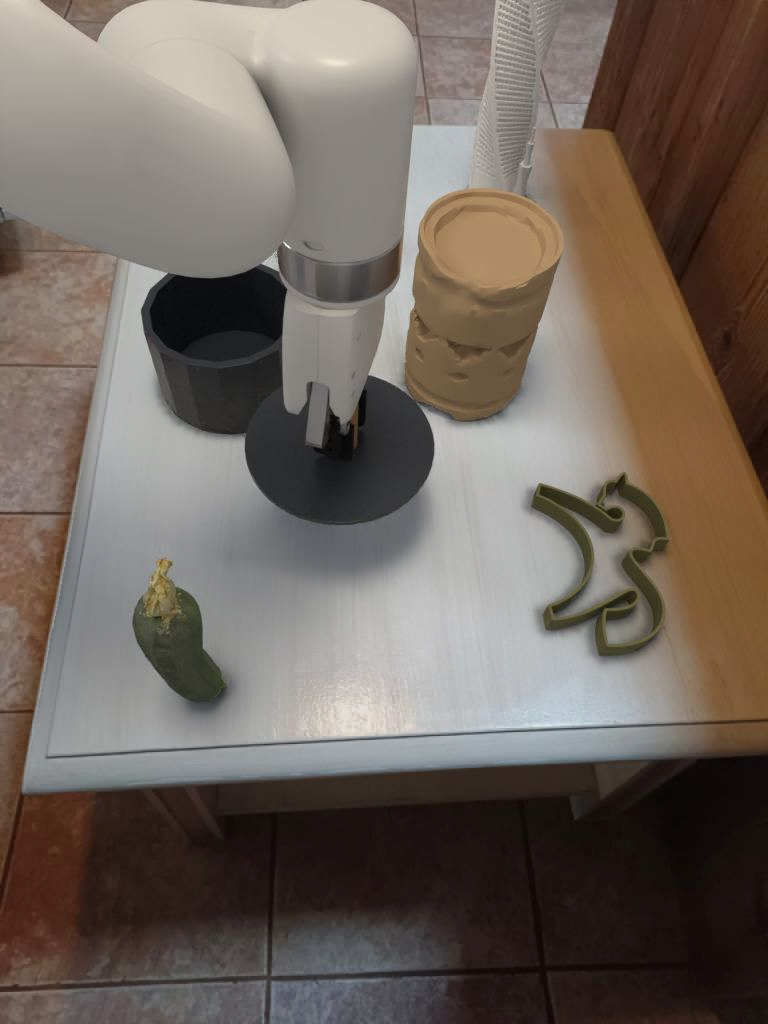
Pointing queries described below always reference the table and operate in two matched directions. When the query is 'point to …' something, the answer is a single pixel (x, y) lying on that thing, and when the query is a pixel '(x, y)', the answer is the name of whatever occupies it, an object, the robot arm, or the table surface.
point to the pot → (217, 345)
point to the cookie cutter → (608, 521)
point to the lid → (339, 482)
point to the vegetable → (175, 638)
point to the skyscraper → (512, 93)
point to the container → (478, 299)
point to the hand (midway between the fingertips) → (340, 435)
